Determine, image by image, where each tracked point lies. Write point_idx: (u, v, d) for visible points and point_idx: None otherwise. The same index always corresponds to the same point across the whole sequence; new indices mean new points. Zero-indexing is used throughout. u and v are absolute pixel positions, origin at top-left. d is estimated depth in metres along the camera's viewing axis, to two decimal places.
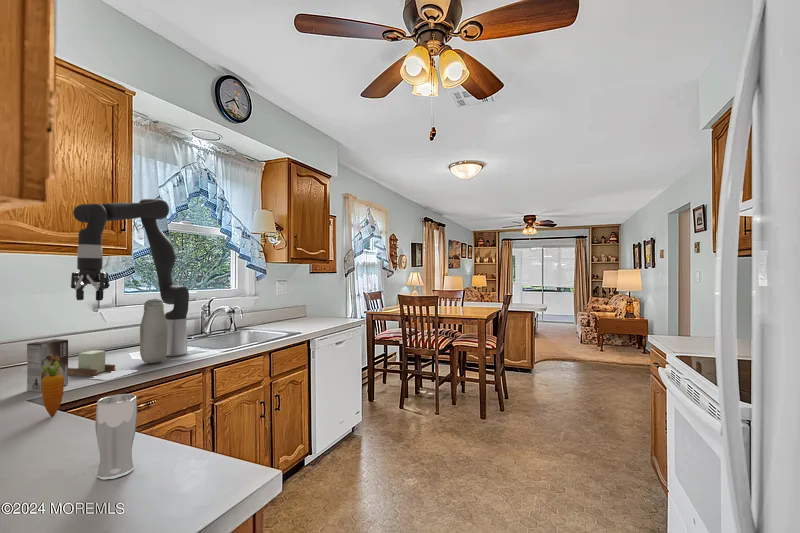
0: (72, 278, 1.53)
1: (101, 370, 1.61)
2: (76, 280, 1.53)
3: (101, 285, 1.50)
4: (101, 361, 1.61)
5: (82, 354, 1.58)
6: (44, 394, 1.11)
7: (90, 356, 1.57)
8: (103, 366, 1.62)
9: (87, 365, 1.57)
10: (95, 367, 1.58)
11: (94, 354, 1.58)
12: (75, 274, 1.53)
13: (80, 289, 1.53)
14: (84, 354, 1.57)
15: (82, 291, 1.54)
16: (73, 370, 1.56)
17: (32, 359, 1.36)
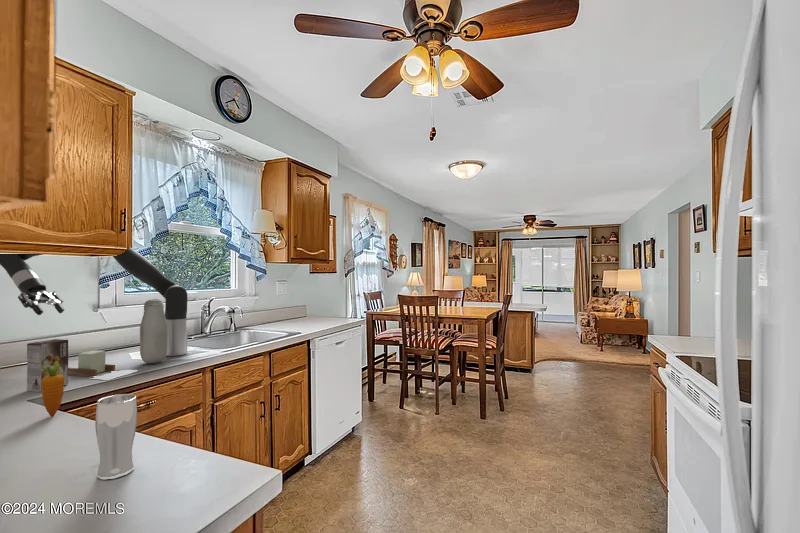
0: None
1: (101, 370, 1.61)
2: (55, 298, 1.70)
3: None
4: (101, 361, 1.61)
5: (82, 354, 1.58)
6: (44, 394, 1.11)
7: (90, 356, 1.57)
8: (103, 366, 1.62)
9: (87, 365, 1.57)
10: (95, 367, 1.58)
11: (94, 354, 1.58)
12: (50, 295, 1.70)
13: (55, 304, 1.67)
14: (84, 354, 1.57)
15: (57, 305, 1.67)
16: (73, 370, 1.56)
17: (32, 359, 1.36)
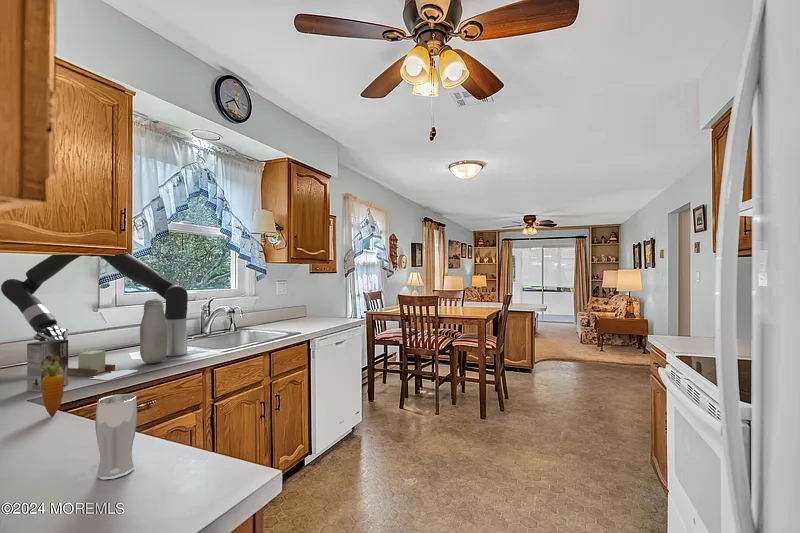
0: None
1: (101, 370, 1.61)
2: (62, 335, 1.68)
3: None
4: (101, 361, 1.61)
5: (82, 354, 1.58)
6: (44, 394, 1.11)
7: (90, 356, 1.57)
8: (103, 366, 1.62)
9: (87, 365, 1.57)
10: (95, 367, 1.58)
11: (94, 354, 1.58)
12: None
13: None
14: (84, 354, 1.57)
15: None
16: (73, 370, 1.56)
17: (32, 359, 1.36)
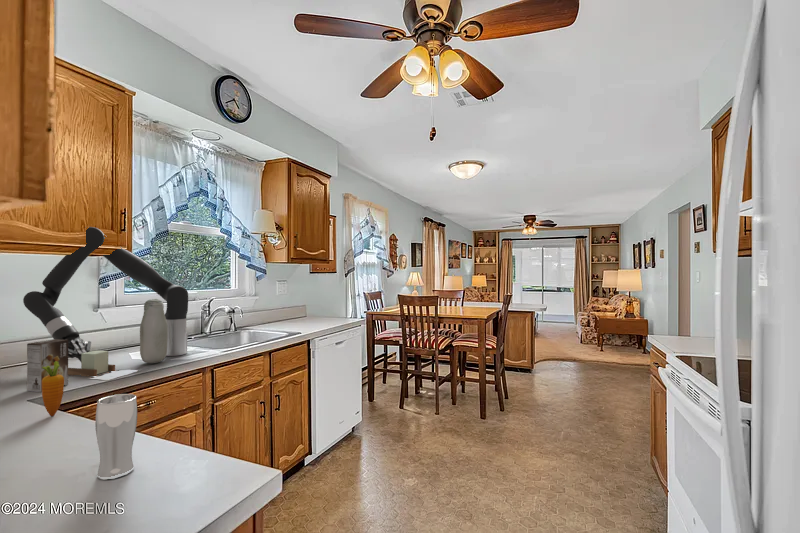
0: None
1: (104, 370, 1.61)
2: (85, 348, 1.65)
3: None
4: (104, 361, 1.61)
5: (85, 354, 1.57)
6: (44, 394, 1.11)
7: (94, 356, 1.57)
8: (106, 366, 1.62)
9: (90, 365, 1.57)
10: (98, 367, 1.58)
11: (97, 354, 1.58)
12: None
13: None
14: (87, 354, 1.57)
15: None
16: (73, 370, 1.56)
17: (32, 359, 1.36)
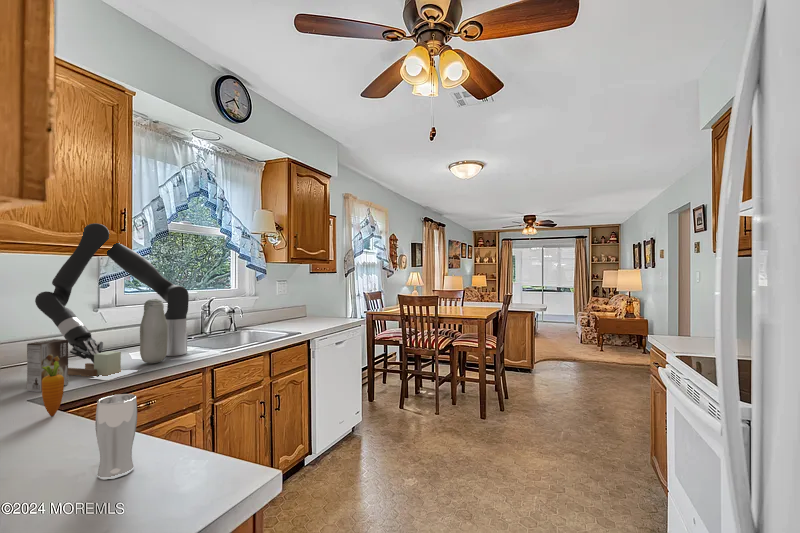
0: None
1: (117, 371, 1.60)
2: (97, 348, 1.64)
3: None
4: (117, 362, 1.60)
5: (98, 355, 1.56)
6: (44, 394, 1.11)
7: (106, 357, 1.56)
8: (118, 367, 1.61)
9: (102, 366, 1.56)
10: (110, 368, 1.57)
11: (110, 355, 1.57)
12: None
13: None
14: (100, 355, 1.56)
15: None
16: (73, 370, 1.56)
17: (32, 359, 1.36)
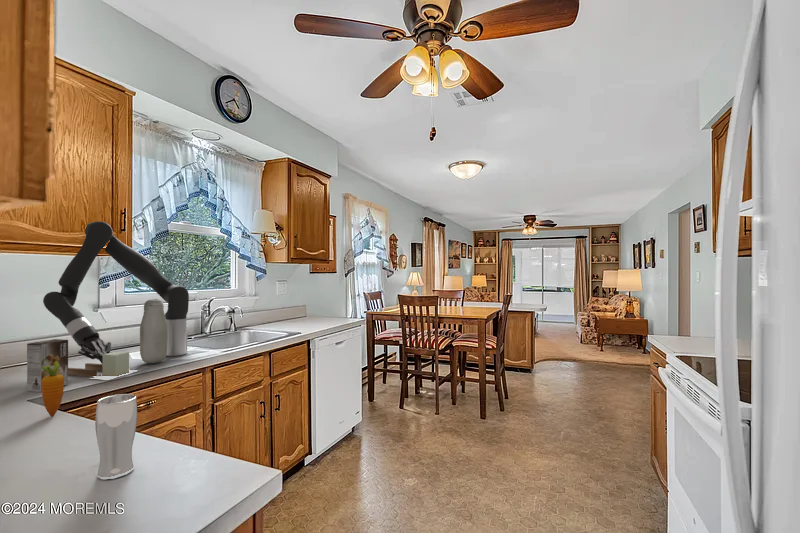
0: None
1: (125, 372, 1.59)
2: (105, 349, 1.64)
3: None
4: (125, 362, 1.59)
5: (106, 355, 1.56)
6: (44, 394, 1.11)
7: (115, 357, 1.55)
8: (127, 367, 1.60)
9: (111, 366, 1.55)
10: (119, 368, 1.56)
11: (118, 355, 1.56)
12: None
13: None
14: (108, 355, 1.55)
15: None
16: (73, 370, 1.56)
17: (32, 359, 1.36)
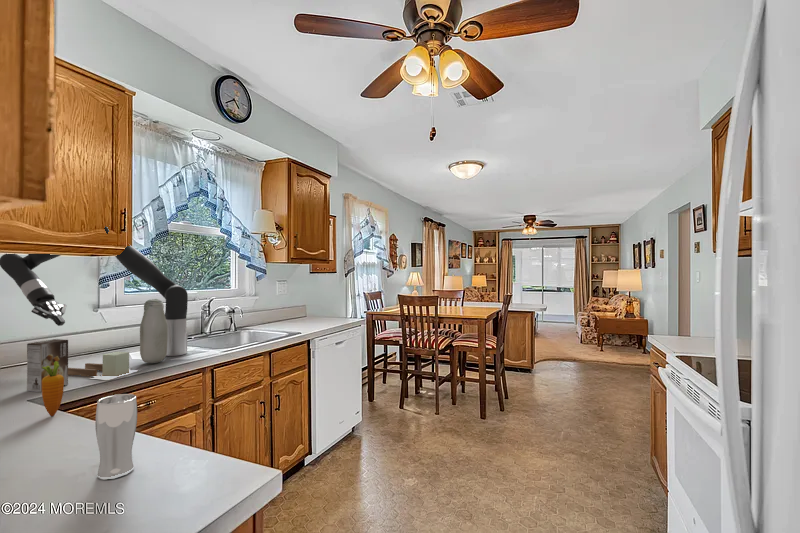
0: None
1: (125, 372, 1.59)
2: (60, 310, 1.67)
3: None
4: (125, 362, 1.59)
5: (106, 355, 1.56)
6: (44, 394, 1.11)
7: (115, 357, 1.55)
8: (127, 367, 1.60)
9: (111, 366, 1.55)
10: (119, 368, 1.56)
11: (118, 355, 1.56)
12: None
13: None
14: (108, 355, 1.55)
15: None
16: (73, 370, 1.56)
17: (32, 359, 1.36)
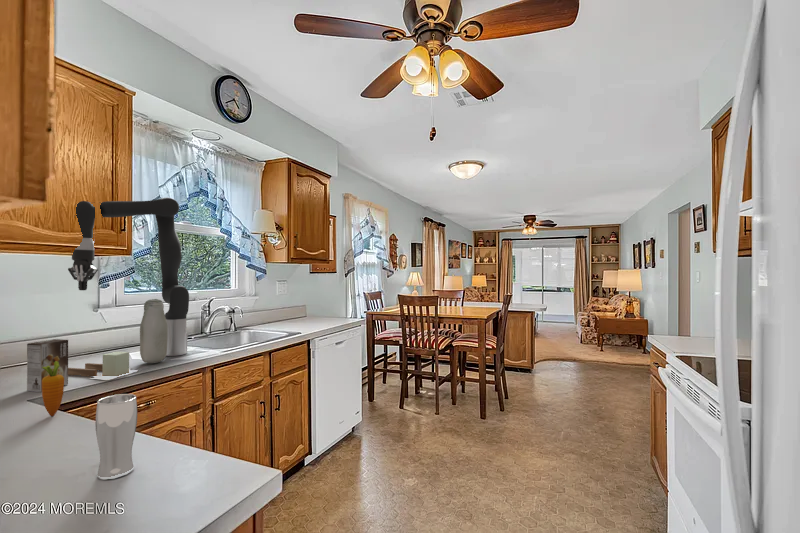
0: (71, 272, 1.71)
1: (125, 372, 1.59)
2: (75, 272, 1.71)
3: (85, 276, 1.69)
4: (125, 362, 1.59)
5: (106, 355, 1.56)
6: (44, 394, 1.11)
7: (115, 357, 1.55)
8: (127, 367, 1.60)
9: (111, 366, 1.55)
10: (119, 368, 1.56)
11: (118, 355, 1.56)
12: (71, 268, 1.71)
13: None
14: (108, 355, 1.55)
15: None
16: (73, 370, 1.56)
17: (32, 359, 1.36)
